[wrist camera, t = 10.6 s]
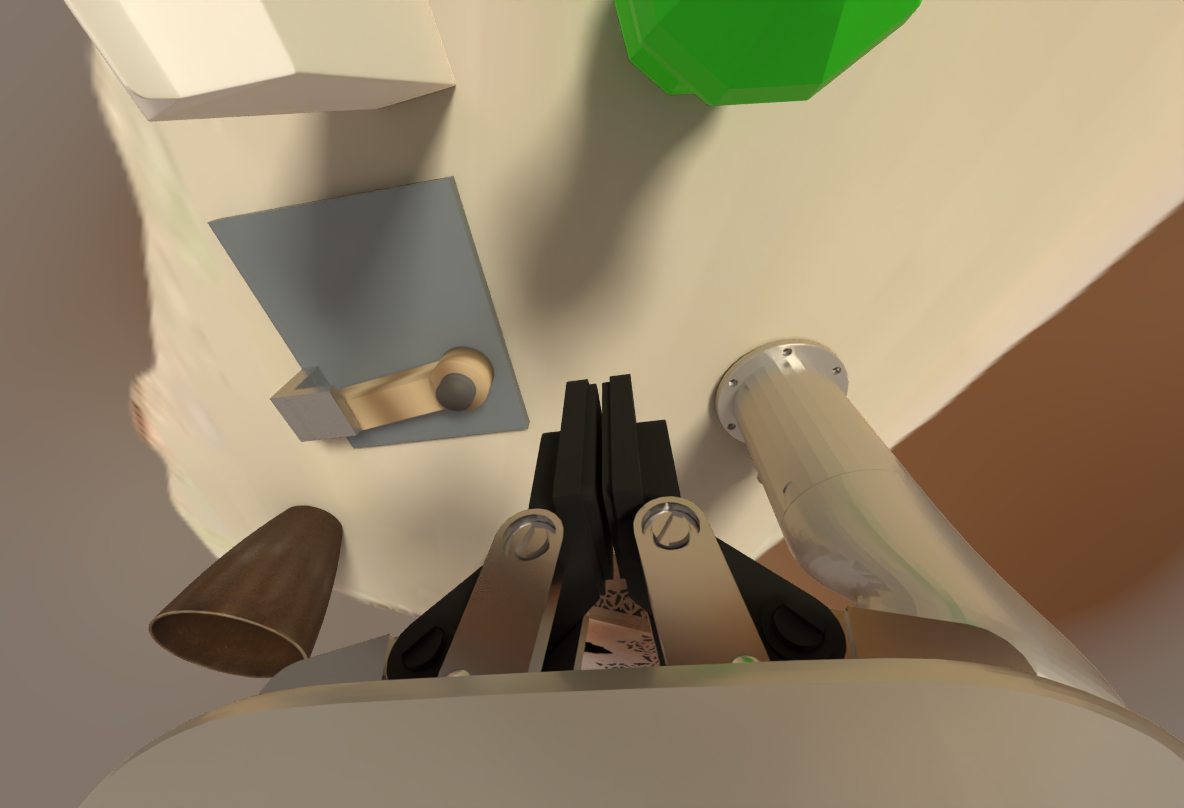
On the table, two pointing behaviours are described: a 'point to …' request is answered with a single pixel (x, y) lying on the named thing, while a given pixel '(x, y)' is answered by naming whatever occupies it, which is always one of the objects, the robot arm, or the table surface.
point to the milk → (266, 54)
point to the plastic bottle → (753, 44)
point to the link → (423, 389)
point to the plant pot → (258, 598)
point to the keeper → (314, 407)
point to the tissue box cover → (618, 631)
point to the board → (379, 296)
